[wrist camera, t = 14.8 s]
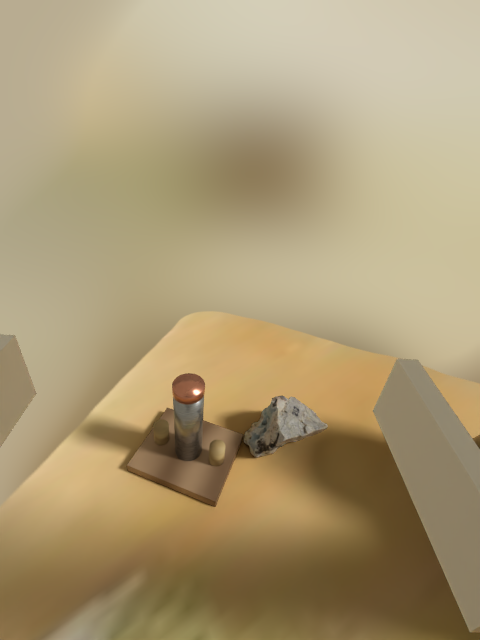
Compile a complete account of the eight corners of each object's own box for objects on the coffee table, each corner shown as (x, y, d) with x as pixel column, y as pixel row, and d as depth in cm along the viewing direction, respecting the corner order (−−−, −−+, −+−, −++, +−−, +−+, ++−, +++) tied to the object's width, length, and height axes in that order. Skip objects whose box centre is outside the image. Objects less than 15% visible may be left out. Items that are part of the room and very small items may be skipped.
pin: (206, 442, 45) (209, 379, 38) (195, 465, 42) (196, 400, 35) (182, 434, 46) (181, 369, 39) (169, 455, 43) (166, 390, 36)
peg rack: (242, 439, 47) (245, 421, 45) (215, 506, 39) (216, 488, 37) (167, 413, 50) (166, 394, 48) (127, 470, 42) (124, 451, 40)
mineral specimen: (264, 444, 53) (292, 493, 44) (228, 422, 49) (250, 470, 40) (304, 399, 52) (341, 439, 43) (271, 373, 49) (303, 410, 40)
